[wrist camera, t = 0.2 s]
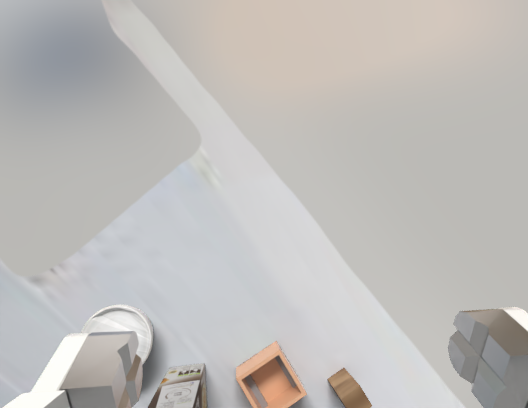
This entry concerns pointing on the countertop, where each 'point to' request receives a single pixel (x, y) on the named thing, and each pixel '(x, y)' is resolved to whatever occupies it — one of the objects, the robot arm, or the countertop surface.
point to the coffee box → (182, 388)
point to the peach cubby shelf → (270, 379)
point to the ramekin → (123, 325)
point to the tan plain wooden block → (349, 390)
